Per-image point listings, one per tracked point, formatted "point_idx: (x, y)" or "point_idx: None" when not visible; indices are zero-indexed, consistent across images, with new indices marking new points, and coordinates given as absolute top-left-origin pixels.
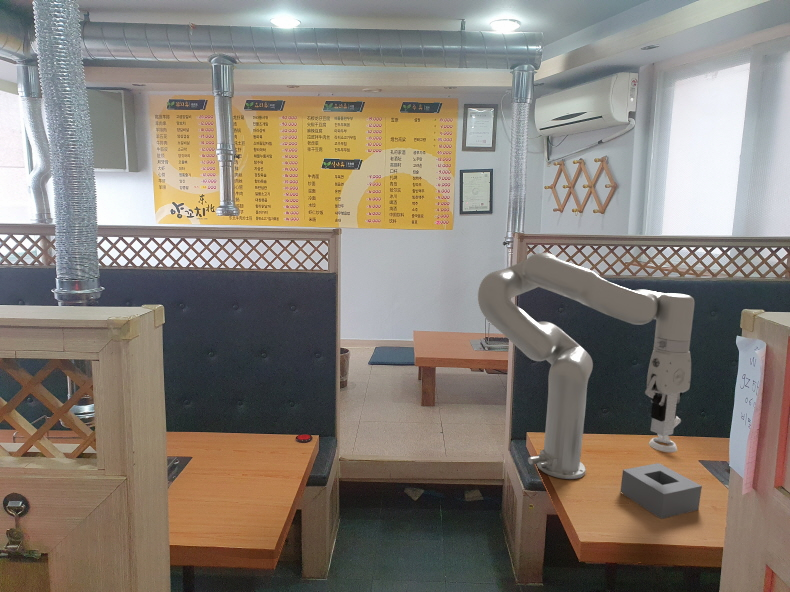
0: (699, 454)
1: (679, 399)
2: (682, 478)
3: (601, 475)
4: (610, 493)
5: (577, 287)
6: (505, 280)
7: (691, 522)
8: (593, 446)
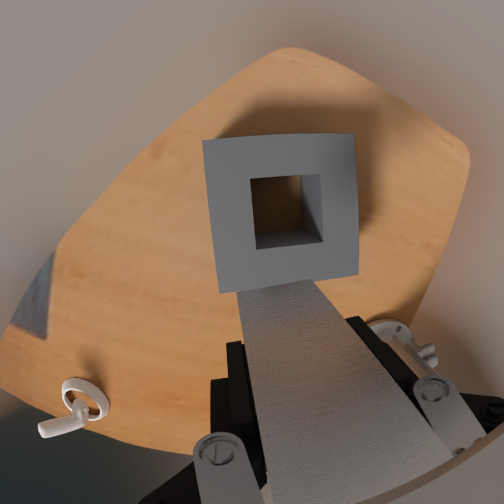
0: (33, 354)
1: (197, 461)
2: (224, 192)
3: None
4: None
5: None
6: None
7: (270, 110)
8: None
